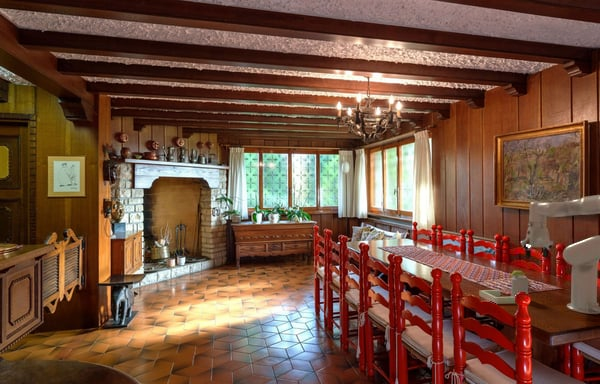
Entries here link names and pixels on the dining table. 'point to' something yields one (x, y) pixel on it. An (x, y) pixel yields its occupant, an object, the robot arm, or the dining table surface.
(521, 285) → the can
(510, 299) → the pale green shallow tray
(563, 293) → the dining table surface
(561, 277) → the dining table surface
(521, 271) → the dumbbell
